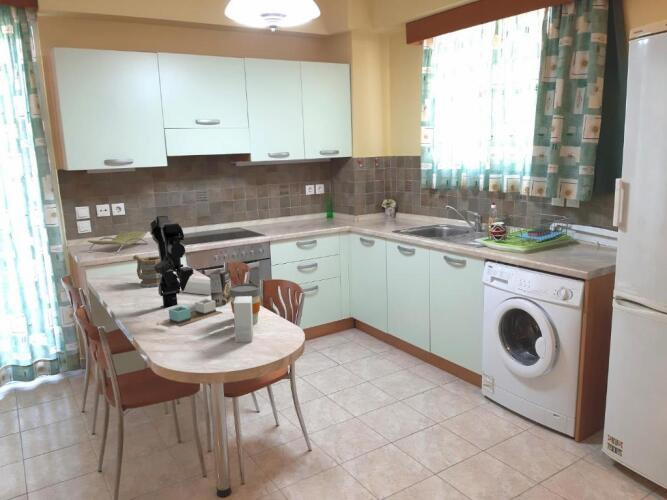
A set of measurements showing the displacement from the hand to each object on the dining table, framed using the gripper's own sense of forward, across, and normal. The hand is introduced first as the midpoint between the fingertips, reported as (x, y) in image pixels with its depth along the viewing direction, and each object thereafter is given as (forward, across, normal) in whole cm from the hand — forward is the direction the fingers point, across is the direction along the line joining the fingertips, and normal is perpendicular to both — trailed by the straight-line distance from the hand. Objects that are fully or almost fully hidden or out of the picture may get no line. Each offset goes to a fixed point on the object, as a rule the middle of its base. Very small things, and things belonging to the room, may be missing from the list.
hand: (175, 289), depth 225 cm
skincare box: (+12, +44, -2) cm, 46 cm away
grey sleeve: (+10, +10, +7) cm, 16 cm away
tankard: (+12, -60, +25) cm, 66 cm away
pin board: (+12, +10, 0) cm, 16 cm away
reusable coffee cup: (+12, +31, +11) cm, 35 cm away
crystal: (+12, -21, +30) cm, 39 cm away
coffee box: (+12, +4, +21) cm, 25 cm away
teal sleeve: (+10, +10, -6) cm, 16 cm away
